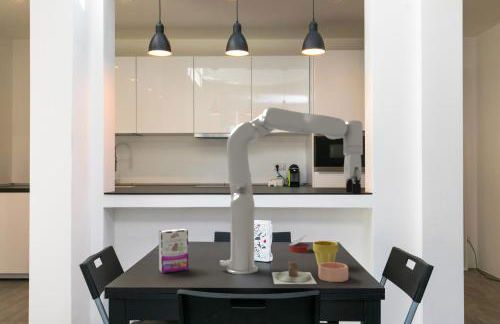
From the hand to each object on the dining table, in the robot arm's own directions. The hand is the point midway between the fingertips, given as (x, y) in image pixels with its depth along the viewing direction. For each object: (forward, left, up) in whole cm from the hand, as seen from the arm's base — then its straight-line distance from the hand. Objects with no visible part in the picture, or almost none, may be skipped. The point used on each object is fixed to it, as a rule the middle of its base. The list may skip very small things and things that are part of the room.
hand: (353, 193), depth 158 cm
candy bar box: (-73, +1, -32) cm, 80 cm away
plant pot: (-10, +7, -31) cm, 34 cm away
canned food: (-17, +38, -32) cm, 52 cm away
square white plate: (-26, -12, -31) cm, 42 cm away
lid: (-26, -12, -31) cm, 42 cm away
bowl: (-11, -12, -31) cm, 35 cm away
